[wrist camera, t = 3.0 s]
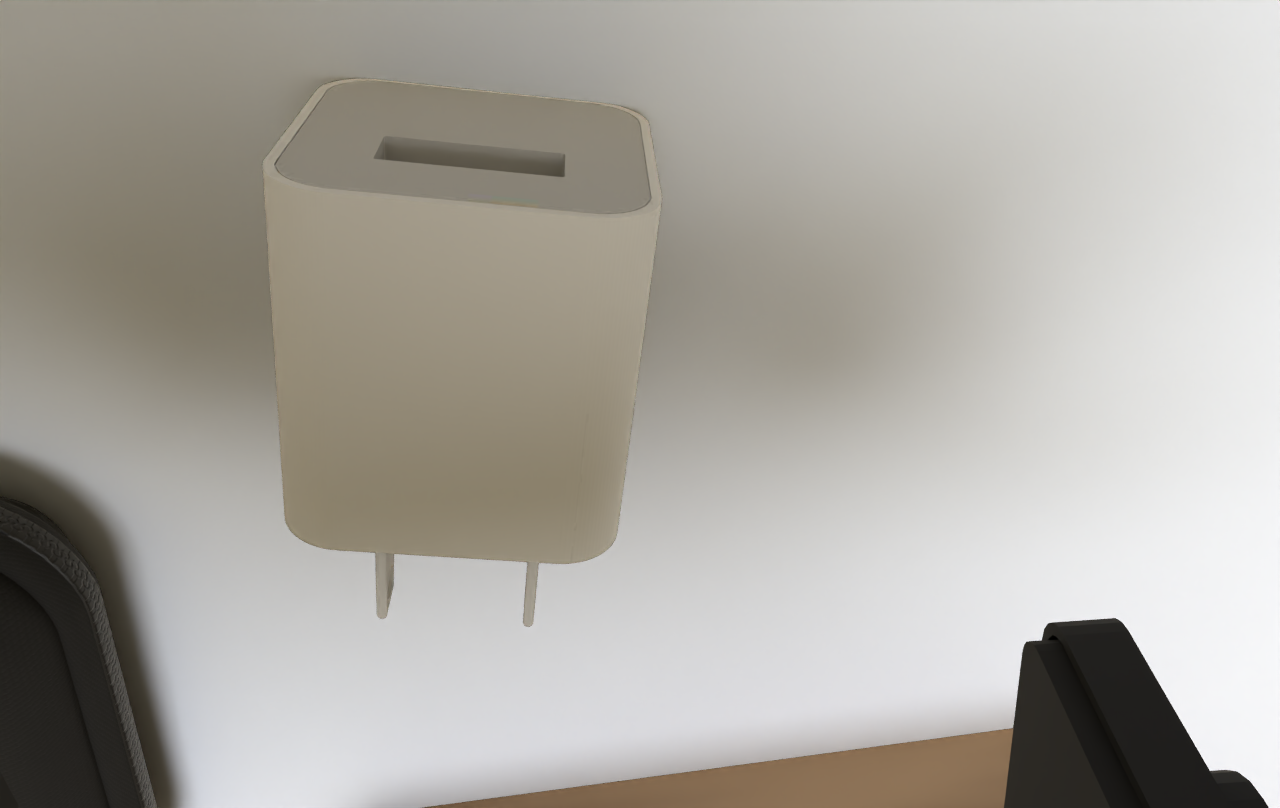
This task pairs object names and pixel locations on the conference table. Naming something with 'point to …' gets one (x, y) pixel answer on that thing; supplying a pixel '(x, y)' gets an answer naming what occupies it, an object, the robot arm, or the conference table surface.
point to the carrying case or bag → (61, 677)
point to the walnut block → (812, 781)
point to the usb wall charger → (458, 320)
